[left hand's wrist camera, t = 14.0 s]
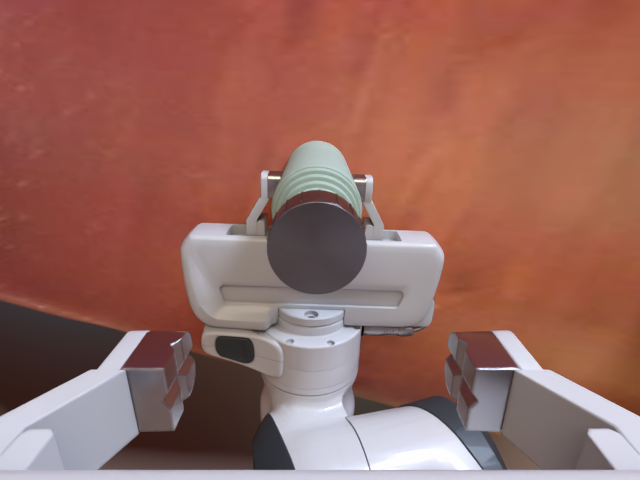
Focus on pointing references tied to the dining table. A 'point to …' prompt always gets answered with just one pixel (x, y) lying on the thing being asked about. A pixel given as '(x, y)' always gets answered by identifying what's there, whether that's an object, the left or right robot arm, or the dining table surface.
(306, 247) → the cap
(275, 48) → the dining table surface
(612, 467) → the left robot arm
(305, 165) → the bottle
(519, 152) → the dining table surface
